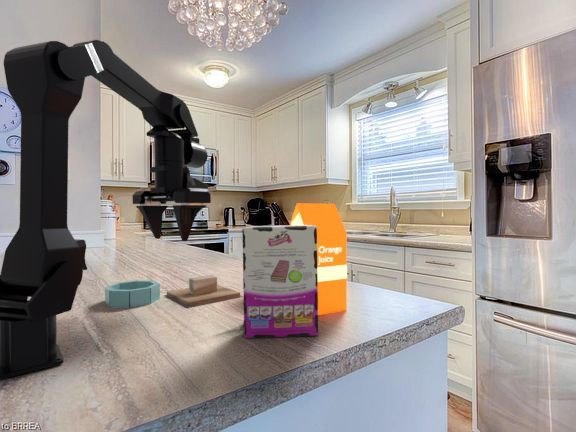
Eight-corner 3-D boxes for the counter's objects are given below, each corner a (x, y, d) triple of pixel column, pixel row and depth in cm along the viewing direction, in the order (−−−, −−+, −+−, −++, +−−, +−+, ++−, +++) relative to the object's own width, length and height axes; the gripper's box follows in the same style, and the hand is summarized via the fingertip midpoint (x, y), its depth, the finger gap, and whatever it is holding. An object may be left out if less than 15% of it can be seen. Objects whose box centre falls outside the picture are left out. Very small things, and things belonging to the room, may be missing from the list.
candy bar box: (314, 325, 54) (313, 224, 53) (319, 337, 49) (318, 225, 48) (244, 327, 53) (244, 224, 53) (242, 339, 48) (242, 226, 48)
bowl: (165, 306, 64) (164, 285, 64) (113, 316, 58) (113, 293, 58) (149, 296, 71) (149, 278, 71) (101, 304, 65) (101, 284, 65)
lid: (240, 296, 68) (240, 278, 68) (189, 306, 60) (189, 286, 60) (214, 287, 76) (214, 270, 76) (167, 295, 69) (166, 277, 69)
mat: (243, 301, 68) (243, 296, 68) (187, 313, 60) (187, 308, 60) (215, 290, 77) (215, 286, 77) (163, 300, 69) (163, 295, 69)
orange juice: (286, 306, 64) (286, 203, 64) (324, 300, 68) (324, 204, 68) (307, 317, 57) (306, 202, 57) (347, 310, 61) (347, 203, 61)
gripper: (230, 163, 68) (231, 238, 68) (175, 169, 79) (176, 234, 79) (185, 156, 59) (186, 243, 59) (130, 165, 70) (131, 238, 70)
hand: (170, 239), depth 67 cm, fingers open, 9 cm apart
